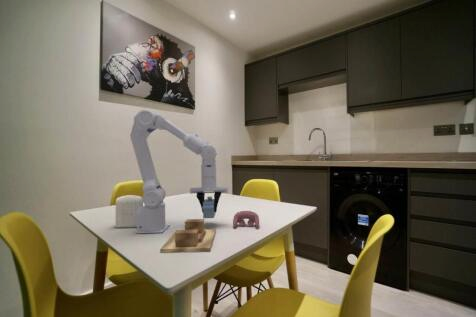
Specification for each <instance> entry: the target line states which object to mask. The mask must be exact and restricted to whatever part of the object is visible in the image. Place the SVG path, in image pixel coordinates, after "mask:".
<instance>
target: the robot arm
mask: <svg viewBox="0 0 476 317" xmlns="http://www.w3.org/2000/svg"><path fill="white" fill-rule="evenodd" d="M155 130H161V131H162V130H163V131H167V132H169V133H170V134H172V136H175V137H176V138H178V139H180V140H181V141H182V144H183V146H184V147H185V148H187V149H188V150H190V152H192V153H195V155H197V156H198V155H200V157H201V165H200V167H201V168H200V169H201V170H200V172H201V177H200V178H201V187H191V188H189V194H191V195H192V194H193V195H194V194H196V198H197V200H198V202H199V206H200V208H201V212H202V214H203V209H202V207H203V202H204V200H205V195H206V194H213V199H214V212H216V213H217V211H218V210H217V209H218V205H219V200H220V198H221V196H222V194H228V193H229V187H224V186H222V187H221V186H220V187H217V164H216V163H217V161H216V157H217V154H218V153H217V150H216V149H215V148H216V147H213V146H212V145H209V142H208V141H204V140H203V139H201V138H200V137H199V135H198V134H197V133H195V134H194V133H187V132H185V131H184V130H182V129H181V128H179V127H178V126H176V125H175V124H173V123H172V122H171V121H169V120H168V119H167V118H165V117H163V116H162V115H159V114H157V112H156V113H154V112H153V111H152V110H150V109H147V108H144V109H141V110H139V111H138V112H137V113H136V115H135V116H134V117H133V125H132V128H131V130H130V135H129V136H130V139H131V144H132V147H133V151H134V154H135V158H136V161H137V165H138V169H139V172H140V175H141V178H142V183H143V184H142V192H143V194H142V198H143V206H142V207H140V208H139V209H138V211H137V227H136V232H135V233H136V234H158V233H159V234H160V233H161V234H162V233H163V232H165V231H166V230H167V229H168V228H169V227H170V224H166V203H165V202H164V200H165V198H166V191H165V189H164V188H163V187H162V185H161V182H160V180H159V179H158V177H157V172H156V169H155V165H154V162H153V158H152V156H151V155H152V154H151V151H150V147H149V144H148V141H147V139H148V138H149V136H150V134H152V133H153V132H154V131H155Z"/></svg>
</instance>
